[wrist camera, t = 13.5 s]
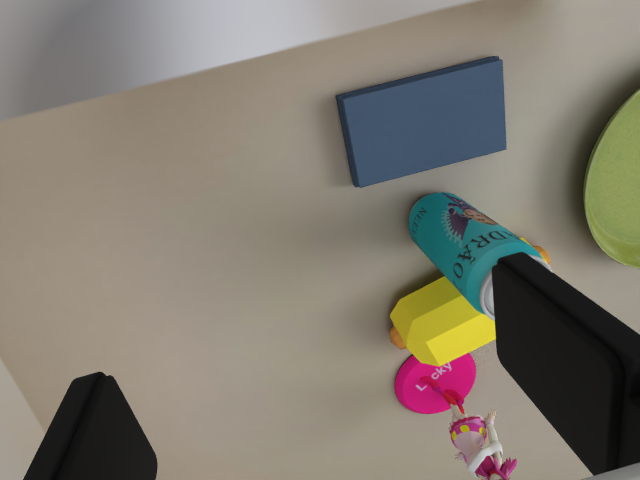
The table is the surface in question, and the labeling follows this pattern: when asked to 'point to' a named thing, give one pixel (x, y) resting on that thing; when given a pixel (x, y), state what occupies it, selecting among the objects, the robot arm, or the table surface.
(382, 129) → the flat blue box
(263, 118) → the table surface
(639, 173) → the saucer
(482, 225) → the beverage can
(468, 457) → the figurine
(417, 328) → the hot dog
